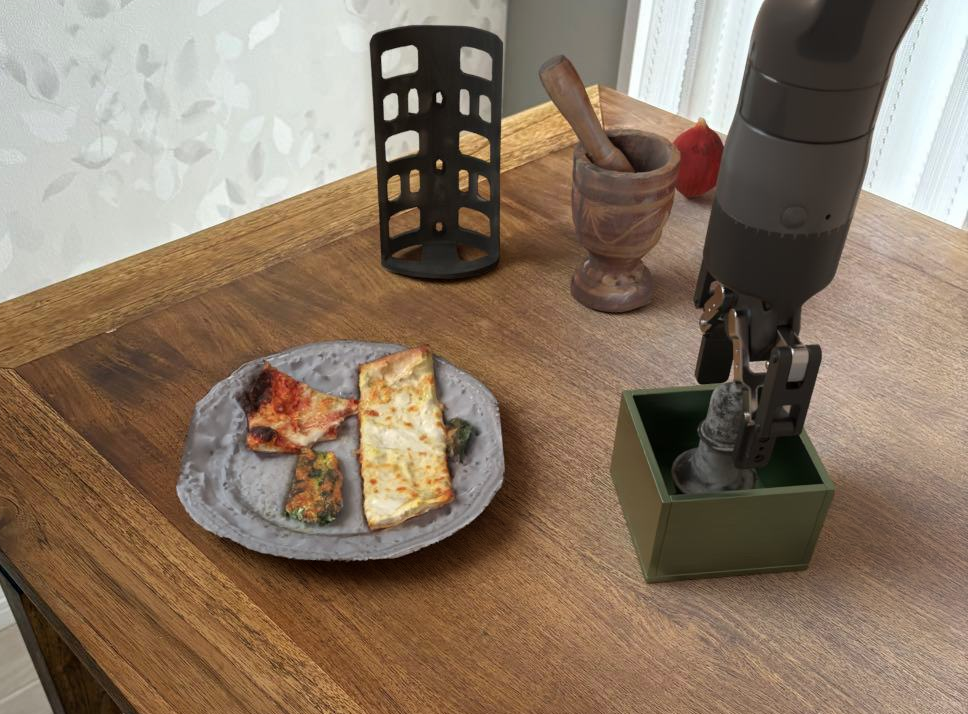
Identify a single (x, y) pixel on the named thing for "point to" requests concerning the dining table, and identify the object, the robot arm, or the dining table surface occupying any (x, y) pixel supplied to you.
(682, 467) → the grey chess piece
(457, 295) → the dining table surface
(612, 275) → the mortar and pestle
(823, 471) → the box
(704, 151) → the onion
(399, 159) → the holder
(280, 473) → the food plate
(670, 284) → the dining table surface
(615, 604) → the dining table surface
